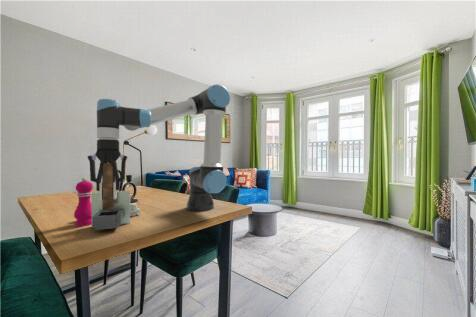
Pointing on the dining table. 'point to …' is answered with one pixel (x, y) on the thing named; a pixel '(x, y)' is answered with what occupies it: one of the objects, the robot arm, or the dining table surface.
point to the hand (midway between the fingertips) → (108, 198)
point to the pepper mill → (84, 203)
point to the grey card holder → (111, 211)
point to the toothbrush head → (134, 209)
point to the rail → (107, 187)
